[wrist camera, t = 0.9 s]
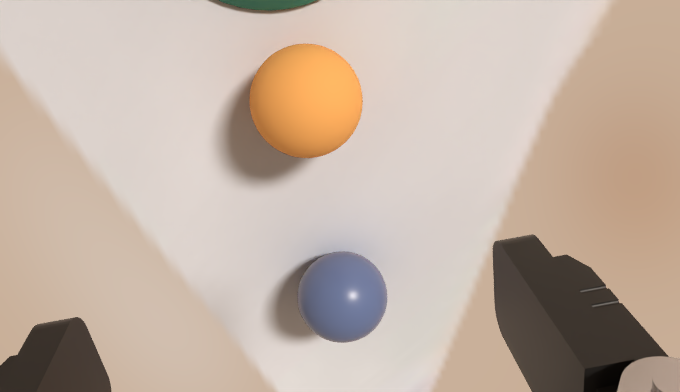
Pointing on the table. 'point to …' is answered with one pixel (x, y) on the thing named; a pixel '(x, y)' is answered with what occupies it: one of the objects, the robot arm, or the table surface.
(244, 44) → the table surface
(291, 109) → the orange ball
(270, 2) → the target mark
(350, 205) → the table surface
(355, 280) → the blue ball
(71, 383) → the robot arm
